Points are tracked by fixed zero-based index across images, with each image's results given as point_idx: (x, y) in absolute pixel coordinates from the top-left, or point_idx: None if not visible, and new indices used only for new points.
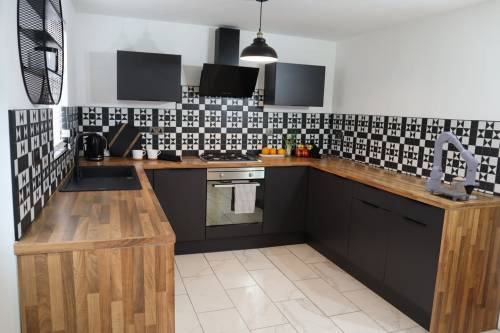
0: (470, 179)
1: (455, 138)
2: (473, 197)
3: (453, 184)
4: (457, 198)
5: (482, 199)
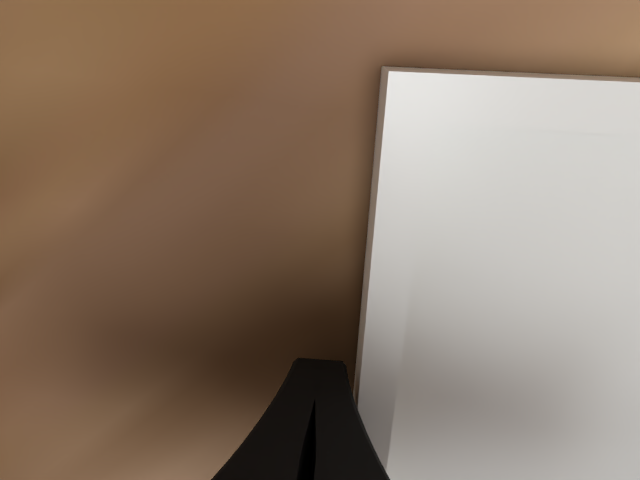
0: None
1: None
2: (547, 75)
3: None
4: None
5: (107, 65)
